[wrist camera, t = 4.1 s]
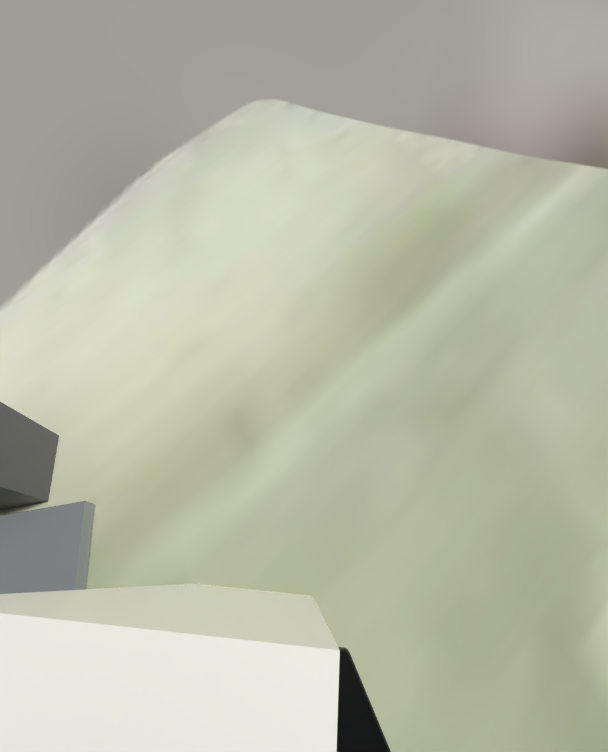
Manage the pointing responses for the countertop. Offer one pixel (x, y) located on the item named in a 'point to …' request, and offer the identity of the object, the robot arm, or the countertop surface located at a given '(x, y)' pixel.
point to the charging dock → (37, 514)
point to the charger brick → (166, 671)
